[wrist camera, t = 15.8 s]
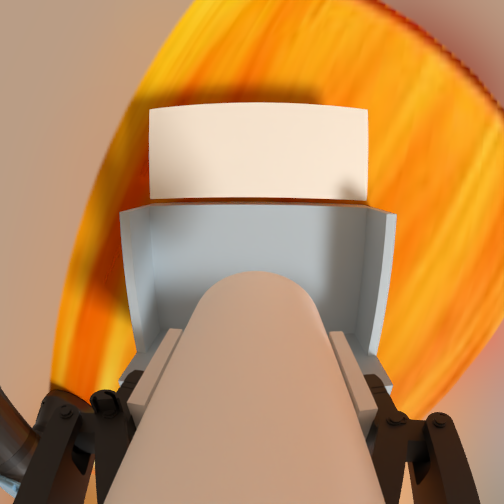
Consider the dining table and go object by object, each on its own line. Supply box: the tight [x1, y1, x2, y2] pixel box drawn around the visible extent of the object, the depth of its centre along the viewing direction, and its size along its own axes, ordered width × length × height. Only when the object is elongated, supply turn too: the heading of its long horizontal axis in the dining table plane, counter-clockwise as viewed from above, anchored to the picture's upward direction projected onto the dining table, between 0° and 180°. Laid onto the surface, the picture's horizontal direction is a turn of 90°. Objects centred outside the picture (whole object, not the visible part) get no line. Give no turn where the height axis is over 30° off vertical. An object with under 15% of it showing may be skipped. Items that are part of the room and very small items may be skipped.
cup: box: [104, 271, 385, 504], centre depth 11 cm, size 8×8×16 cm
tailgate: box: [149, 102, 368, 201], centre depth 27 cm, size 21×1×9 cm
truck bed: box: [118, 202, 397, 395], centre depth 28 cm, size 27×18×14 cm, turn 90°
